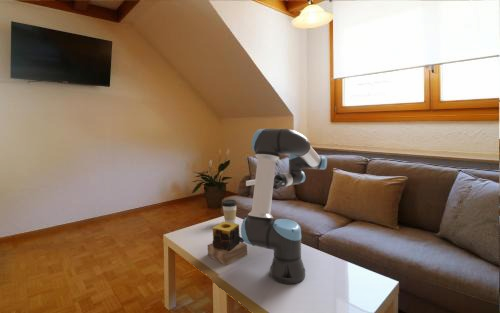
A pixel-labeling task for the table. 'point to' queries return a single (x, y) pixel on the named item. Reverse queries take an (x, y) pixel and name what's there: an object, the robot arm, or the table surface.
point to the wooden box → (227, 253)
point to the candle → (226, 236)
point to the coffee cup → (229, 210)
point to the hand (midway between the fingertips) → (253, 185)
